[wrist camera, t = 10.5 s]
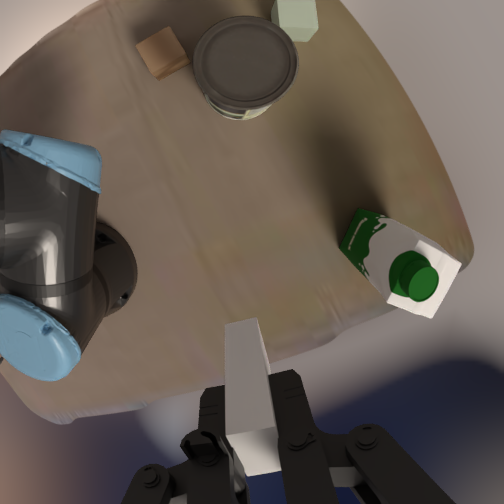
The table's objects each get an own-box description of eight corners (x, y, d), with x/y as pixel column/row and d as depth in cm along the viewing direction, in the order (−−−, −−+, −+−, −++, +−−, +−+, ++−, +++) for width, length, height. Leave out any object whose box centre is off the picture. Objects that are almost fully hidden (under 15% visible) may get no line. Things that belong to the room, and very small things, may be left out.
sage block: (273, 40, 38) (279, 27, 32) (270, 12, 36) (276, -5, 31) (307, 41, 38) (318, 28, 32) (304, 13, 36) (314, -3, 31)
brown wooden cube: (159, 80, 39) (151, 73, 34) (144, 54, 37) (135, 45, 32) (190, 63, 38) (186, 53, 34) (174, 37, 37) (169, 25, 32)
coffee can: (204, 122, 41) (193, 112, 28) (202, 54, 38) (192, 17, 25) (278, 120, 42) (301, 109, 28) (276, 52, 38) (296, 16, 25)
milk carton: (355, 200, 46) (428, 237, 27) (399, 222, 48) (478, 267, 29) (331, 251, 49) (387, 315, 30) (376, 270, 50) (441, 334, 31)
